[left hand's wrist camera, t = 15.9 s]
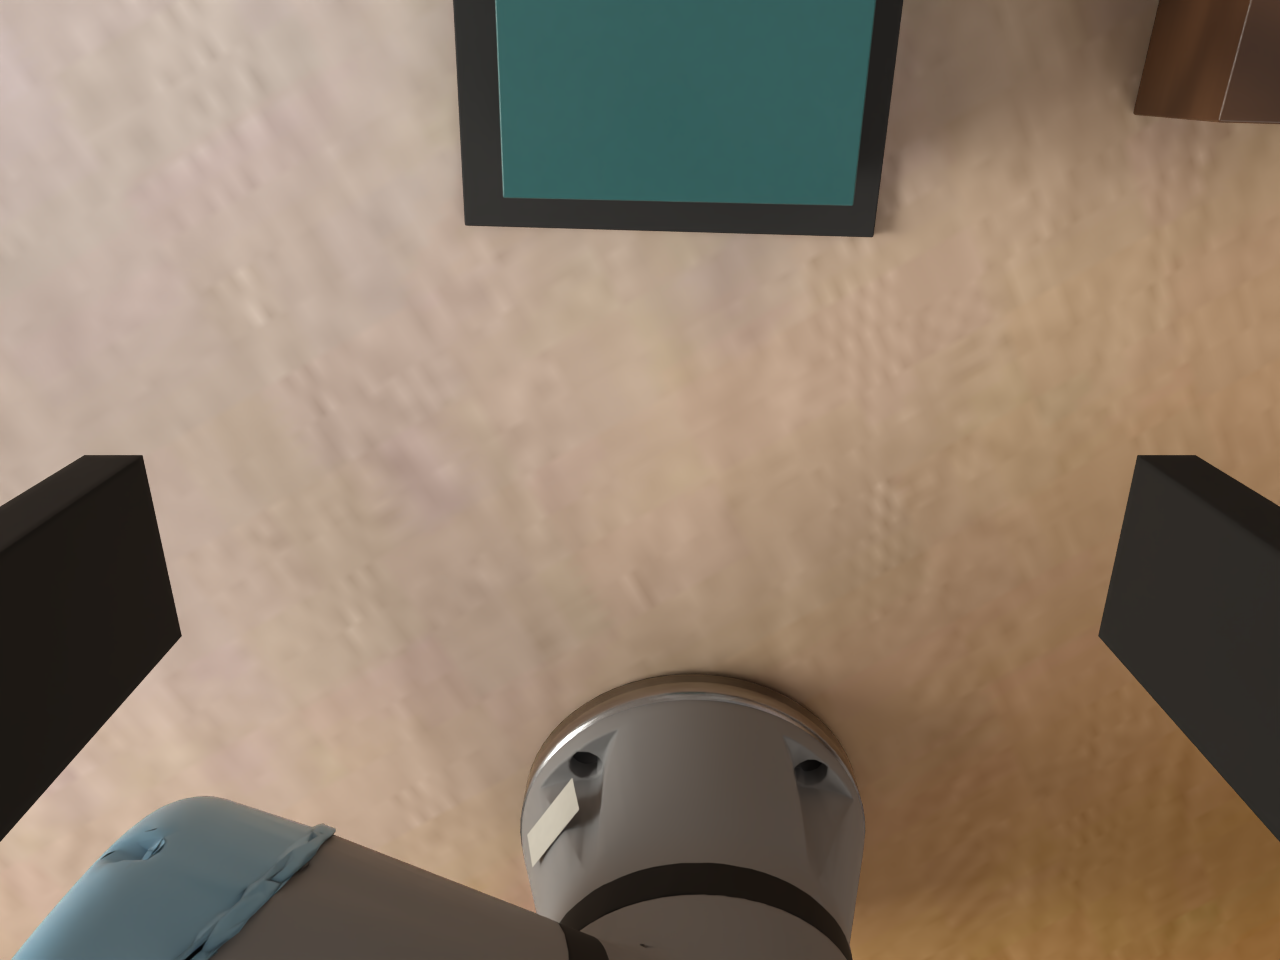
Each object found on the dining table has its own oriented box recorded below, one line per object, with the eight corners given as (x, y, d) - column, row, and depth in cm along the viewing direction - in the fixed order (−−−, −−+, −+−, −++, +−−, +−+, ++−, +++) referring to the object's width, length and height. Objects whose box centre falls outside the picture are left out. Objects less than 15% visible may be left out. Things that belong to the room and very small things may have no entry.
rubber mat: (871, 235, 31) (873, 237, 31) (467, 223, 32) (464, 225, 31) (934, -271, 26) (938, -276, 25) (440, -283, 26) (438, -288, 25)
